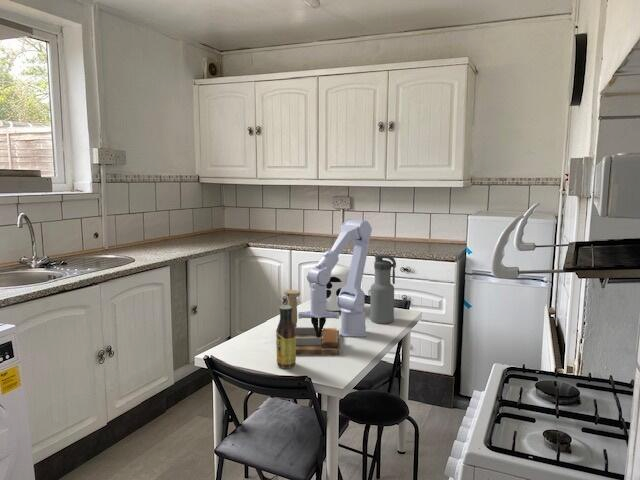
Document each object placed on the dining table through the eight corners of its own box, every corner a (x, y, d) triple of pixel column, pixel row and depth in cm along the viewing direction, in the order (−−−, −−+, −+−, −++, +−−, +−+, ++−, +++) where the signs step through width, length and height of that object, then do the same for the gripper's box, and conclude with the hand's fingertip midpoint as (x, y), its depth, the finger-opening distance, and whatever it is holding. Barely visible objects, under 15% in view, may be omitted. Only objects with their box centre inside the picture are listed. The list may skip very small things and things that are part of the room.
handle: (295, 331, 189) (295, 294, 186) (282, 328, 192) (281, 291, 190) (302, 327, 193) (302, 291, 190) (289, 324, 196) (289, 289, 194)
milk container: (356, 305, 224) (356, 267, 221) (350, 316, 207) (350, 275, 205) (320, 303, 228) (320, 265, 225) (311, 313, 211) (311, 273, 209)
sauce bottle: (276, 361, 159) (275, 303, 156) (295, 361, 159) (295, 303, 156) (276, 370, 152) (275, 309, 149) (296, 369, 153) (295, 309, 150)
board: (338, 335, 184) (338, 330, 184) (339, 355, 164) (339, 349, 164) (285, 334, 184) (285, 329, 184) (280, 354, 165) (280, 349, 164)
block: (336, 337, 176) (336, 327, 176) (336, 341, 171) (336, 332, 171) (322, 337, 176) (322, 327, 176) (322, 341, 171) (322, 332, 171)
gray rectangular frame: (321, 333, 180) (321, 327, 179) (321, 345, 168) (321, 338, 168) (285, 333, 180) (284, 327, 180) (281, 344, 169) (281, 338, 168)
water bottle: (394, 317, 206) (395, 253, 201) (395, 324, 196) (396, 257, 192) (370, 316, 207) (370, 252, 202) (370, 324, 197) (371, 257, 193)
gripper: (297, 304, 168) (297, 341, 170) (338, 304, 168) (338, 341, 170) (298, 298, 175) (299, 334, 177) (338, 298, 175) (338, 334, 177)
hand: (318, 337), depth 174 cm, fingers closed
